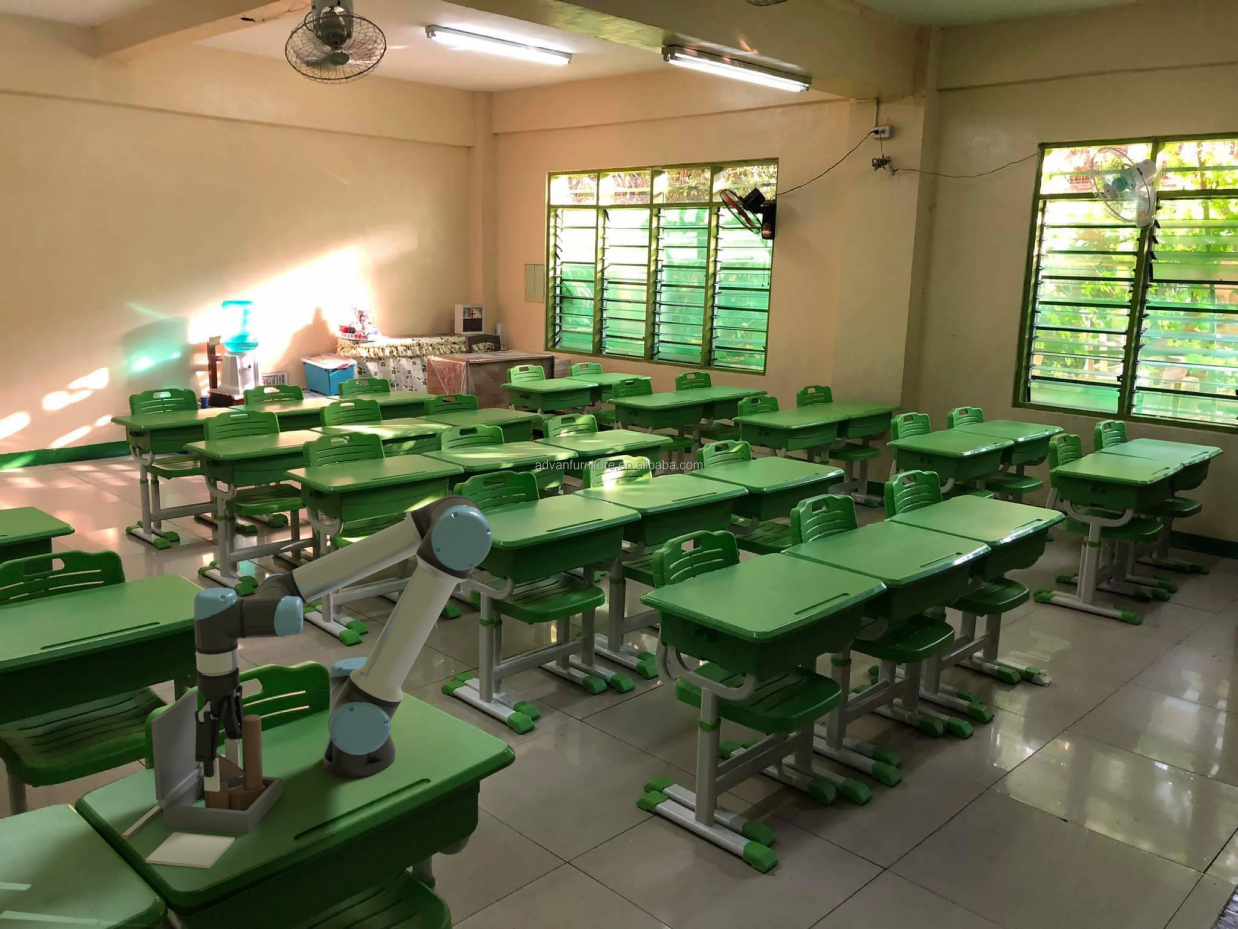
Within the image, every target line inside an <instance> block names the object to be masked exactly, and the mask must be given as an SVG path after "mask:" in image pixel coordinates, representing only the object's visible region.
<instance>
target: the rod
mask: <svg viewBox="0 0 1238 929" xmlns="http://www.w3.org/2000/svg"><path fill="white" fill-rule="evenodd" d="M161 812H163V807H158V803H157V804H156V805H155V806H154V807H153V808H151V809H150V810H149V811H148V812H147V813H146V814H145V815H143V816H142V817H141V818H140V819H138V820H137V821H136V822H135V823H134V824H132V825H131V826H130V827H129V828H128V829H127V830H126V831H124V832H123V833H122V834H121V839H122V840H129V839H131V837H133V836H134V835H135V834H136V833H138V832H139V831H140V830H141V829H142V828H143V827H144V826H145V825H146V824H148V823H149V822H150V821H151V820H153V818H155V817H156V816H157V815H158V814H160V813H161Z"/></svg>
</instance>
